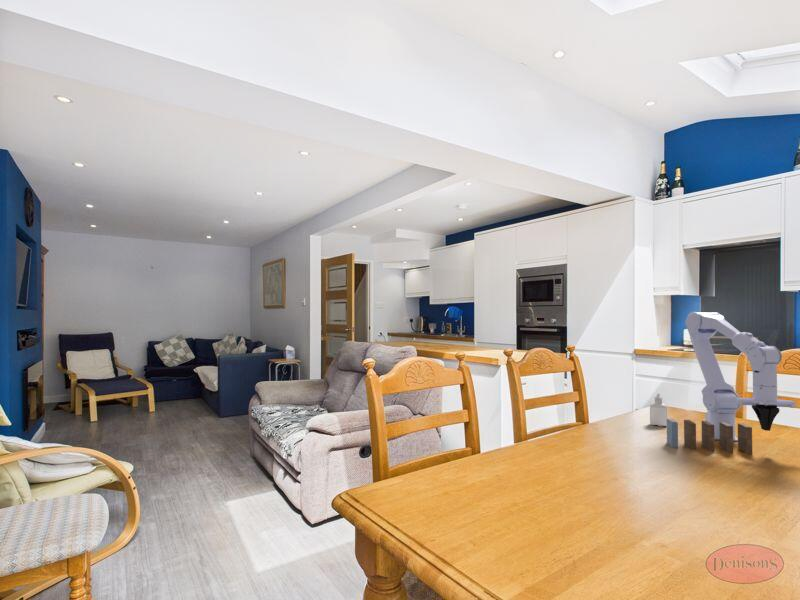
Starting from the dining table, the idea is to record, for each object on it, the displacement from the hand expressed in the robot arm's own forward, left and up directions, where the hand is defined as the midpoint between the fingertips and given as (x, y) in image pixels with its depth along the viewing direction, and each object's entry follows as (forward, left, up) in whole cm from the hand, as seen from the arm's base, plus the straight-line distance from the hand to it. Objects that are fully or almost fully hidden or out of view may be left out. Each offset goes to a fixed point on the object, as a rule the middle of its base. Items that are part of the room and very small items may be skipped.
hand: (765, 429), depth 132 cm
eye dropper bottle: (-27, -22, -7) cm, 35 cm away
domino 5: (0, -6, -7) cm, 9 cm away
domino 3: (0, -16, -7) cm, 17 cm away
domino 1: (0, -26, -7) cm, 27 cm away
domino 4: (0, -11, -7) cm, 13 cm away
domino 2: (0, -21, -7) cm, 22 cm away
